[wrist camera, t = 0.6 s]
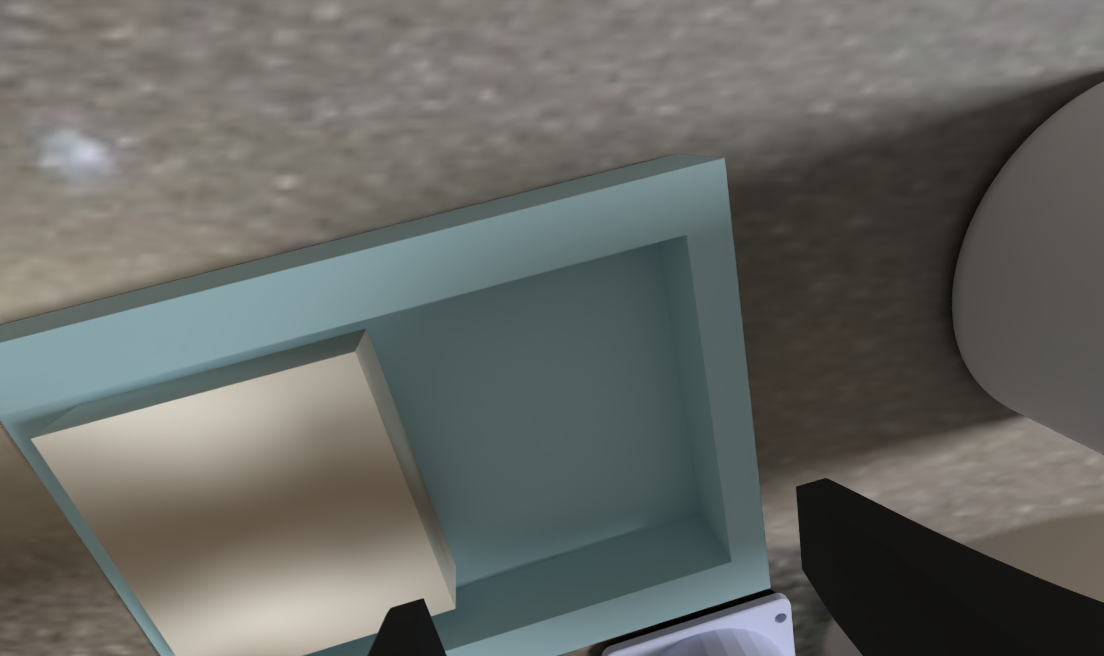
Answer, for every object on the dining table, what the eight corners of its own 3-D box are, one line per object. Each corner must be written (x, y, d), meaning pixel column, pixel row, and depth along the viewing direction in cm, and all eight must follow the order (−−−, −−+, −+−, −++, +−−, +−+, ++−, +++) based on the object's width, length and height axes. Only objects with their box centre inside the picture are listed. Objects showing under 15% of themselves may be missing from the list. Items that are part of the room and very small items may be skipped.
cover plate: (455, 566, 19) (455, 608, 17) (221, 637, 18) (197, 688, 16) (366, 328, 16) (355, 351, 14) (78, 404, 15) (30, 438, 13)
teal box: (675, 154, 16) (724, 157, 13) (726, 524, 21) (770, 587, 18) (-28, 331, 15) (-152, 381, 12) (205, 684, 20) (159, 782, 17)
